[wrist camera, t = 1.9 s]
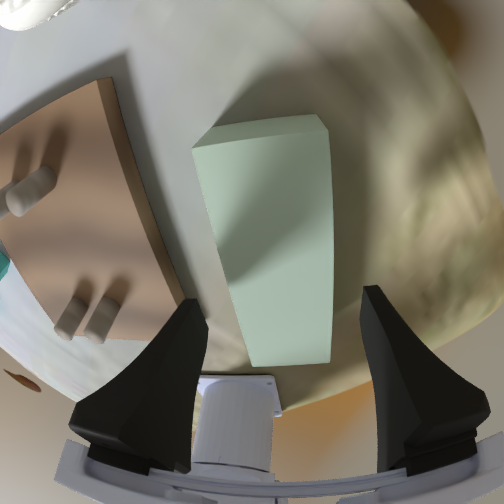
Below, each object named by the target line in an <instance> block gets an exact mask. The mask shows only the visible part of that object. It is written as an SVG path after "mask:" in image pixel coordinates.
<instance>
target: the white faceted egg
mask: <svg viewBox="0 0 504 504" xmlns="http://www.w3.org/2000/svg"><path fill="white" fill-rule="evenodd" d="M80 1H81V0H0V25H1V26H3V27H4V28H6V29H10V30H15V31H21V30H27V29H30V28H33V27H35V26H37V25H39V24H41V23H42V22H44V21H45V20H48V21H49V20H51V19H52V18H54V17H55V16H58V15H59V14H61V13H62V12H64V11H65V10H67V9H69V8H70V7H72V6H73V5H75V4H77V3H78V2H80Z"/></svg>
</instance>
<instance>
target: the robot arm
mask: <svg viewBox="0 0 504 504" xmlns="http://www.w3.org/2000/svg"><path fill="white" fill-rule="evenodd" d="M360 325H361V332H362V339H363V343H364V347H365V352H366V356H367V360H368V364H369V368H370V372H371V376H372V381H373V385H374V392H375V403H376V415H377V435H378V461H377V473H376V474H371V475H365V476H357V477H350V478H342V479H332V480H319V481H303V482H280V481H279V480H274V479H275V473H270V466H271V450H272V432H273V417H280V416H282V409H281V404H280V400H279V395H278V391H277V386H276V382H275V378H274V376H271V375H251V376H222V375H200V373H201V369H202V365H203V361H204V357H205V353H206V348H207V340H208V330H209V328H208V325H207V323H206V321H205V318H204V316H203V313H202V311H201V309H200V306H199V304H198V301H197V299H184V300H183V301H182V302H181V303H180V305H179V306H178V307H177V309H176V310H175V311H174V313H173V314H172V315H171V317H170V318H169V319H168V321H167V322H166V323H165V325H164V326H163V327H162V328H161V330H160V331H159V332H158V334H157V335H156V336H155V337H154V338H153V340H152V341H151V342H150V343H149V344H148V346H147V347H146V348H145V349H144V350H143V351H142V352H141V353H140V355H139V356H138V357H137V358H136V359H135V360H134V361H133V362H132V363H131V364H130V365H128V366H127V367H126V368H125V369H124V370H123V371H122V372H120V373H119V374H118V375H117V376H116V377H115V378H113V379H112V380H111V381H110V382H108V383H107V384H106V385H104V386H103V387H101V388H100V389H98V390H97V391H95V392H94V393H92V394H91V395H89V396H87V397H86V398H84V399H82V400H81V401H79V402H77V404H76V406H75V408H74V411H73V413H72V416H71V419H70V422H69V424H68V425H69V427H70V429H71V430H72V431H74V432H75V433H76V434H78V435H79V436H81V437H82V438H84V439H85V440H87V441H89V442H90V443H91V444H90V448H89V447H87V446H85V445H82V444H80V443H77V442H74V441H72V440H69V439H67V440H66V443H65V446H64V449H63V451H62V455H61V458H60V461H59V464H58V467H57V471H56V474H55V477H54V480H55V481H56V482H57V483H59V484H61V485H63V486H65V487H67V488H69V489H71V490H73V491H75V492H77V493H79V494H81V495H84V496H86V497H88V498H90V499H92V500H94V501H96V502H99V503H101V504H288V498H306V497H322V496H334V495H343V494H351V493H359V492H364V491H371V490H375V491H374V492H370V493H364V494H359V495H354V496H349V497H342V498H340V499H339V501H338V502H337V503H336V504H467V503H469V502H471V501H473V500H476V499H478V498H480V497H482V496H484V495H486V494H488V493H491V492H492V491H494V490H496V489H498V488H500V487H502V486H504V433H503V432H502V431H501V432H499V433H497V434H495V435H492V436H490V437H488V438H485V439H483V440H481V441H479V442H477V443H476V442H475V437H476V436H477V431H476V428H477V427H478V426H479V425H480V424H481V423H482V422H483V421H484V420H486V419H487V418H488V417H489V414H490V413H491V411H490V407H489V403H488V400H487V397H486V395H485V393H484V391H482V390H481V389H479V388H477V387H476V386H474V385H473V384H471V383H469V382H468V381H466V380H465V379H464V378H462V377H461V376H460V375H458V374H457V373H455V372H454V371H453V370H452V369H451V368H450V367H448V366H447V365H446V364H445V363H443V362H442V361H441V360H440V359H439V358H438V357H437V356H436V355H435V354H434V353H433V352H432V351H431V350H430V349H429V348H428V347H427V346H426V345H425V344H424V343H423V342H422V341H421V340H420V339H419V338H418V337H417V336H416V334H415V333H414V332H413V331H412V330H411V329H410V327H409V326H408V325H407V324H406V323H405V321H404V320H403V319H402V317H401V316H400V315H399V314H398V312H397V311H396V310H395V308H394V307H393V306H392V304H391V303H390V301H389V300H388V299H387V297H386V296H385V294H384V293H383V291H382V290H381V289H380V287H379V286H378V285H371V286H363V295H362V304H361V311H360ZM197 389H198V391H199V392H200V394H201V395H202V397H203V398H202V403H201V408H200V414H199V419H198V424H197V429H196V435H195V440H194V445H193V451H192V456H191V438H192V422H193V411H194V403H195V395H196V390H197Z"/></svg>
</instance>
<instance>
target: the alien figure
mask: <svg viewBox="0 0 504 504" xmlns="http://www.w3.org/2000/svg"><path fill="white" fill-rule="evenodd" d="M9 264H10V261H9V260H8V259H7V258H6V257H5V256H4V255H3V254H2V253H1V252H0V280H1V279H2V278H3V277H4V275H5V274H6V273H7V271H8V267H9Z"/></svg>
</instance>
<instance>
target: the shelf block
mask: <svg viewBox="0 0 504 504" xmlns="http://www.w3.org/2000/svg"><path fill="white" fill-rule="evenodd" d="M191 150H192V154H193V158H194V162H195V166H196V170H197V174H198V178H199V182H200V186H201V190H202V193H203V197H204V201H205V205H206V209H207V212H208V216H209V220H210V223H211V227H212V231H213V234H214V238H215V242H216V245H217V249H218V253H219V256H220V260H221V263H222V267H223V270H224V274H225V277H226V281H227V284H228V288H229V291H230V295H231V298H232V301H233V305H234V308H235V312H236V315H237V318H238V322H239V325H240V328H241V331H242V335H243V338H244V341H245V345H246V348H247V351H248V354H249V357H250V361H251V364H252V367H263V366H288V365H305V364H319V363H330V353H331V336H332V316H333V283H334V226H333V193H332V173H331V157H330V143H329V131H328V130H327V128H326V127H325V125H324V124H323V123H322V121H321V120H320V119H319V117H318V116H317V115H316V114H309V115H297V116H287V117H277V118H269V119H261V120H254V121H247V122H240V123H233V124H227V125H221V126H216V127H211V128H210V129H209V130H208V131H207V132H206V133H205V134H204V136H203V137H202V138H201V139H200V140H199V141H198V142H197V143H196V144H195V145H194V146H193V147H192V148H191Z"/></svg>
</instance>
